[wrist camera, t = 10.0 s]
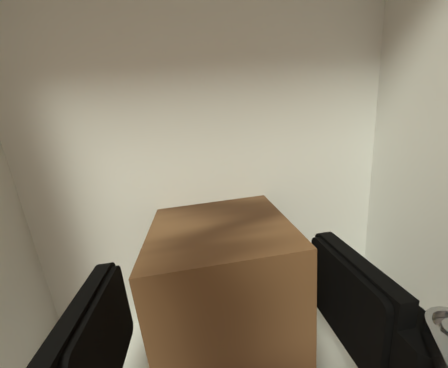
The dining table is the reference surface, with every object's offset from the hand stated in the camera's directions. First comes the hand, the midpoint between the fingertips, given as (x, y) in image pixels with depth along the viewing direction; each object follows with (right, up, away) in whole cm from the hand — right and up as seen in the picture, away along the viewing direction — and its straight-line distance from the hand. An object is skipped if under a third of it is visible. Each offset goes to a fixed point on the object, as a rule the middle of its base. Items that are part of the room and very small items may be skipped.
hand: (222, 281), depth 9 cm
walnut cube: (0, +1, +2) cm, 2 cm away
